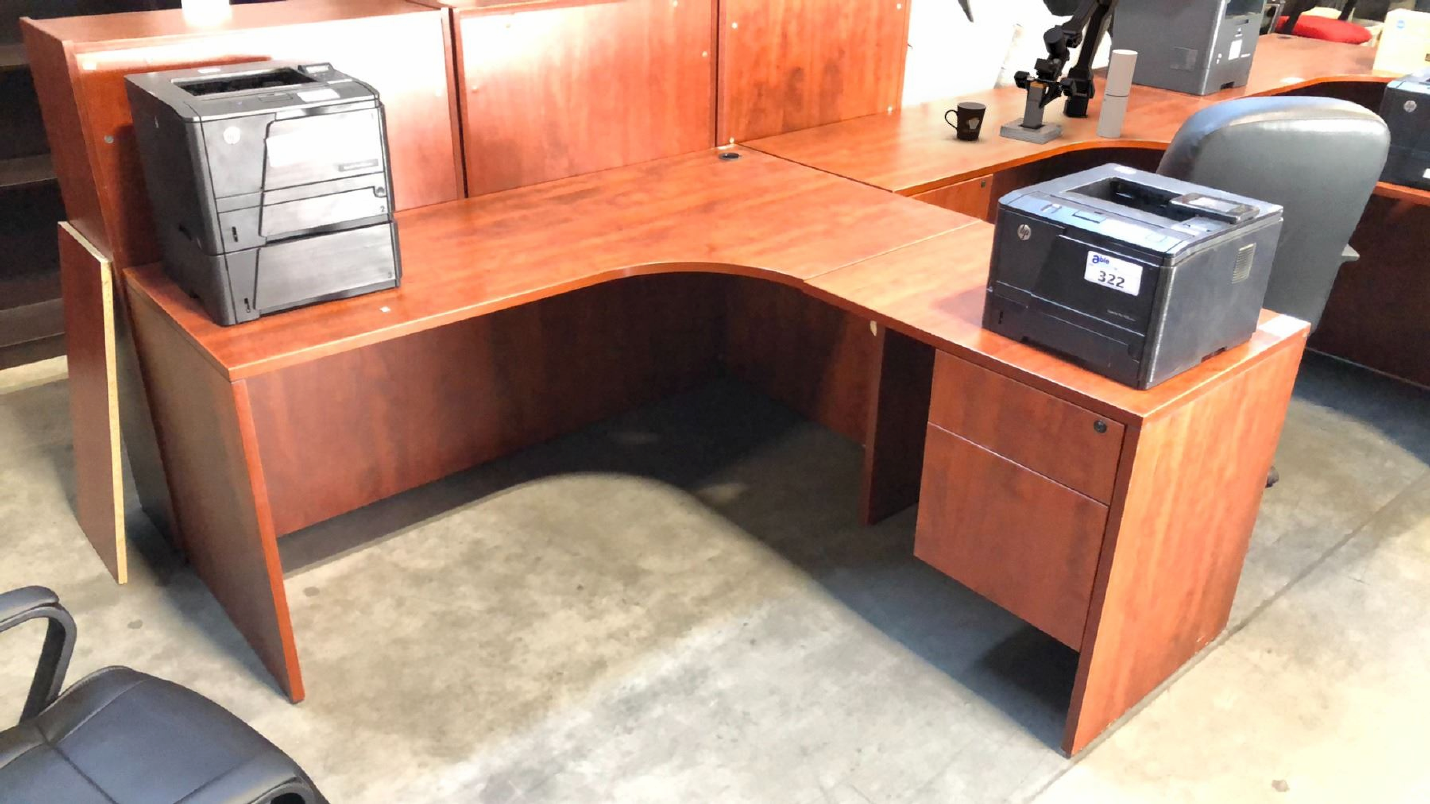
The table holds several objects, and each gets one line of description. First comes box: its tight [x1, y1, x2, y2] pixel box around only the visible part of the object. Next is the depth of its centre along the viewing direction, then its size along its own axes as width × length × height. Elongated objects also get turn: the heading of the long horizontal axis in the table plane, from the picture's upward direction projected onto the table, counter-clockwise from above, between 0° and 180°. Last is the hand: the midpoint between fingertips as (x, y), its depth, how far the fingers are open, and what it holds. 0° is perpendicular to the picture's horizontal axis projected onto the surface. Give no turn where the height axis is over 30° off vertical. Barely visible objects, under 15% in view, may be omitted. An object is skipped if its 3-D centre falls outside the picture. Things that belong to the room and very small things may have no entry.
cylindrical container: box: [1096, 49, 1138, 139], centre depth 319 cm, size 7×7×25 cm
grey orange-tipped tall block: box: [1022, 81, 1048, 130], centre depth 318 cm, size 5×4×14 cm
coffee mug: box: [944, 101, 987, 142], centre depth 316 cm, size 12×9×10 cm
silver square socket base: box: [999, 117, 1064, 145], centre depth 322 cm, size 14×14×3 cm
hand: (1033, 106), depth 317 cm, fingers closed on grey orange-tipped tall block, 4 cm apart
